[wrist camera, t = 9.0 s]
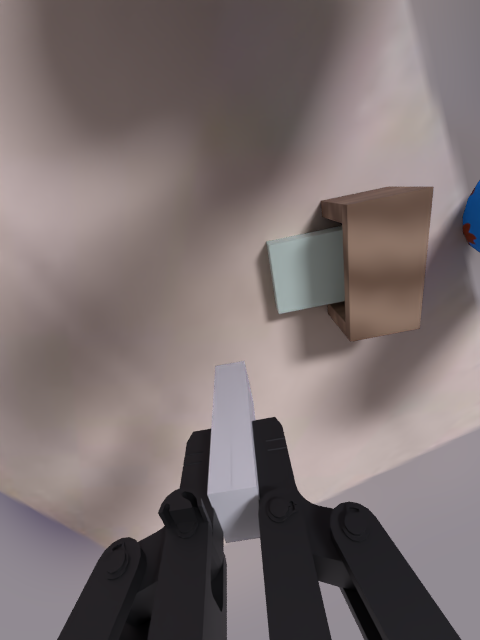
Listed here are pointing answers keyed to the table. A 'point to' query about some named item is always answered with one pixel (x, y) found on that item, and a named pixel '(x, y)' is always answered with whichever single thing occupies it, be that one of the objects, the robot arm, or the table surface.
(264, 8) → the table surface
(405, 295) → the tan notched block
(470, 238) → the thermos
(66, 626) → the robot arm
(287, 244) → the board
